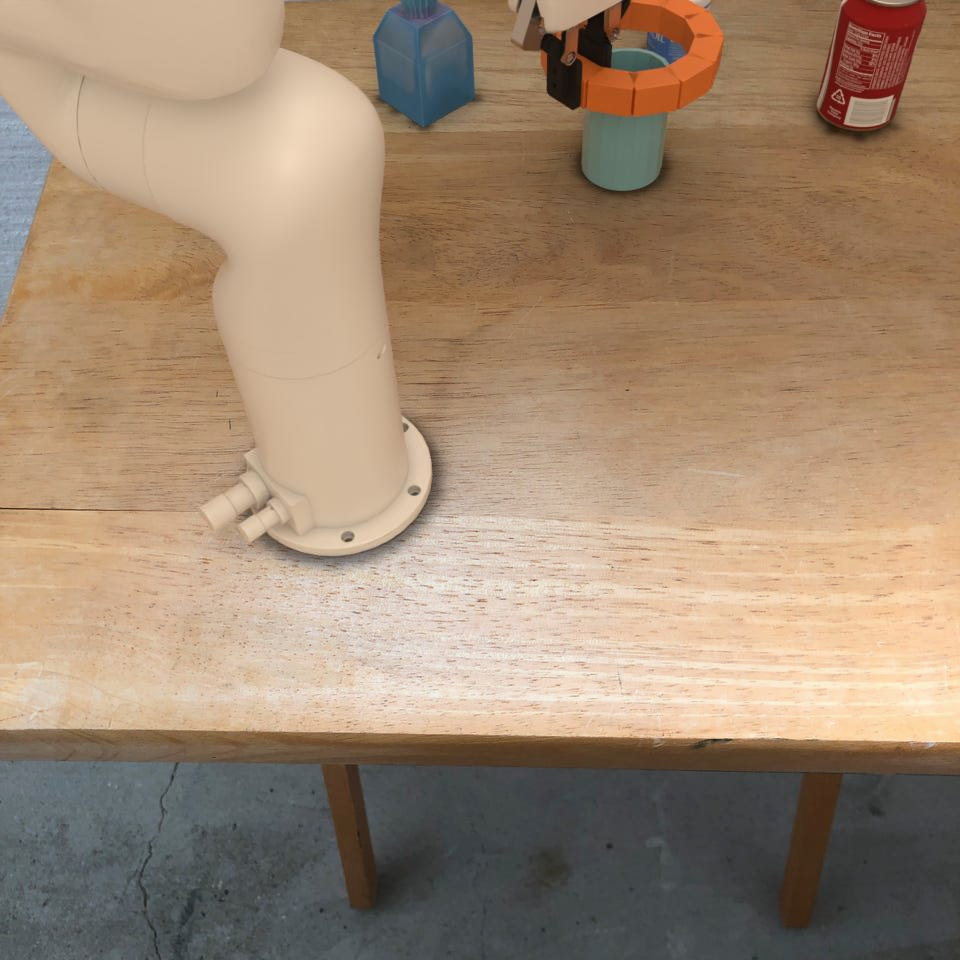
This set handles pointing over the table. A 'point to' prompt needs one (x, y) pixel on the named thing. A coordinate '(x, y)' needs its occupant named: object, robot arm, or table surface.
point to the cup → (624, 135)
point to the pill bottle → (670, 41)
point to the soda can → (869, 62)
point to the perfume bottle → (424, 60)
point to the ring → (663, 89)
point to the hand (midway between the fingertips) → (577, 91)
